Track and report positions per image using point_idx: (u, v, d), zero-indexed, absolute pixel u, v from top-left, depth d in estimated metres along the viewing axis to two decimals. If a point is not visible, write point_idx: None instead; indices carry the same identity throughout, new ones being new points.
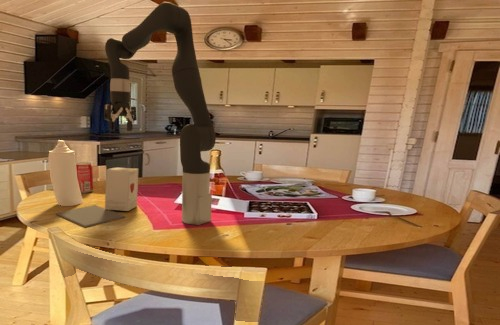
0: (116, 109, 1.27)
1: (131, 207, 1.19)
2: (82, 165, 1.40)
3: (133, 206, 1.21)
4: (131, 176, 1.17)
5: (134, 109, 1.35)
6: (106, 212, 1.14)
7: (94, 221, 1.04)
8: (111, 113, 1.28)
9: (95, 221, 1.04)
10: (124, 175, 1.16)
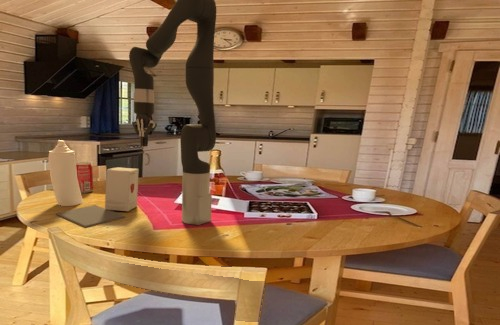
0: None
1: (131, 207, 1.19)
2: (82, 165, 1.40)
3: (133, 206, 1.21)
4: (131, 176, 1.17)
5: None
6: (106, 212, 1.14)
7: (94, 221, 1.04)
8: (143, 128, 1.23)
9: (95, 221, 1.04)
10: (124, 175, 1.15)
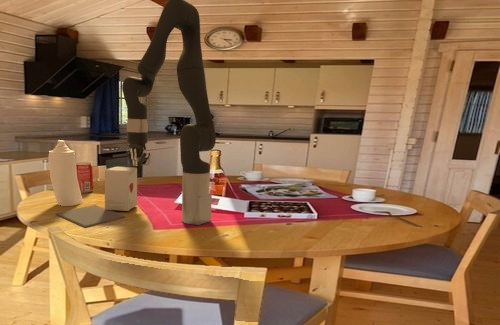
0: None
1: (131, 207, 1.19)
2: (82, 165, 1.40)
3: (133, 205, 1.21)
4: (130, 176, 1.16)
5: None
6: (106, 212, 1.14)
7: (94, 221, 1.04)
8: (137, 157, 1.22)
9: (95, 221, 1.04)
10: (123, 175, 1.15)
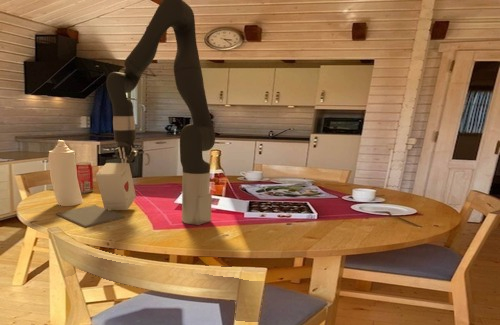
0: None
1: (130, 203, 1.18)
2: (82, 165, 1.40)
3: (132, 200, 1.20)
4: (123, 177, 1.12)
5: None
6: (106, 212, 1.14)
7: (94, 221, 1.04)
8: (125, 156, 1.18)
9: (95, 221, 1.04)
10: (115, 178, 1.10)
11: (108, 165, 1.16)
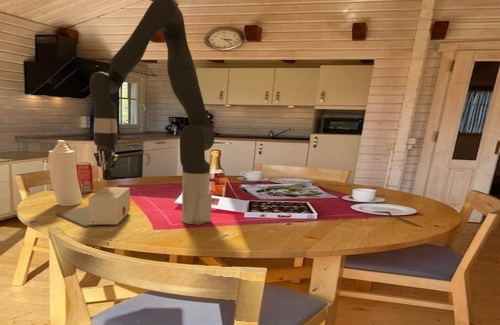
0: None
1: (129, 204, 1.15)
2: (82, 165, 1.40)
3: (129, 198, 1.15)
4: (120, 217, 1.03)
5: None
6: None
7: None
8: (105, 160, 1.12)
9: None
10: None
11: (94, 204, 1.00)
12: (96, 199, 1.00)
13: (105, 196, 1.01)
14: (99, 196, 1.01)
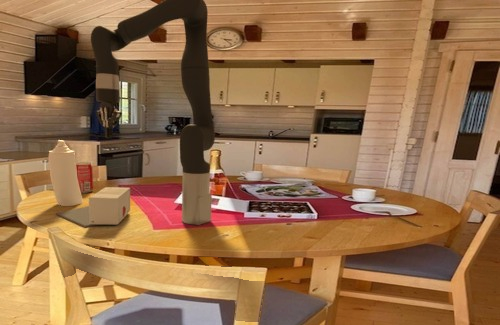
0: None
1: (129, 204, 1.15)
2: (82, 165, 1.40)
3: (129, 198, 1.15)
4: (120, 218, 1.03)
5: None
6: None
7: None
8: (107, 117, 1.11)
9: None
10: None
11: (95, 204, 1.00)
12: (96, 199, 1.00)
13: (105, 196, 1.01)
14: (99, 196, 1.01)
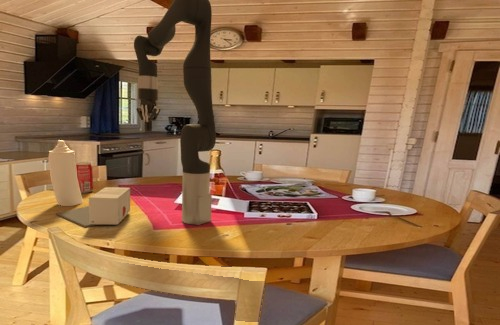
0: None
1: (129, 204, 1.15)
2: (82, 165, 1.40)
3: (129, 198, 1.15)
4: (120, 218, 1.03)
5: None
6: None
7: None
8: (148, 113, 1.28)
9: None
10: None
11: (95, 204, 1.00)
12: (96, 199, 1.00)
13: (105, 196, 1.01)
14: (99, 196, 1.01)
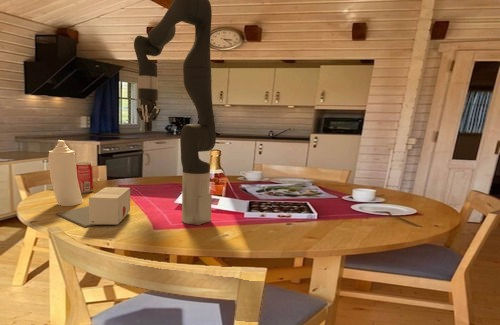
0: None
1: (129, 204, 1.15)
2: (82, 165, 1.40)
3: (129, 198, 1.15)
4: (120, 218, 1.03)
5: None
6: None
7: None
8: (148, 113, 1.28)
9: None
10: None
11: (95, 204, 1.00)
12: (96, 199, 1.00)
13: (105, 196, 1.01)
14: (99, 196, 1.01)
